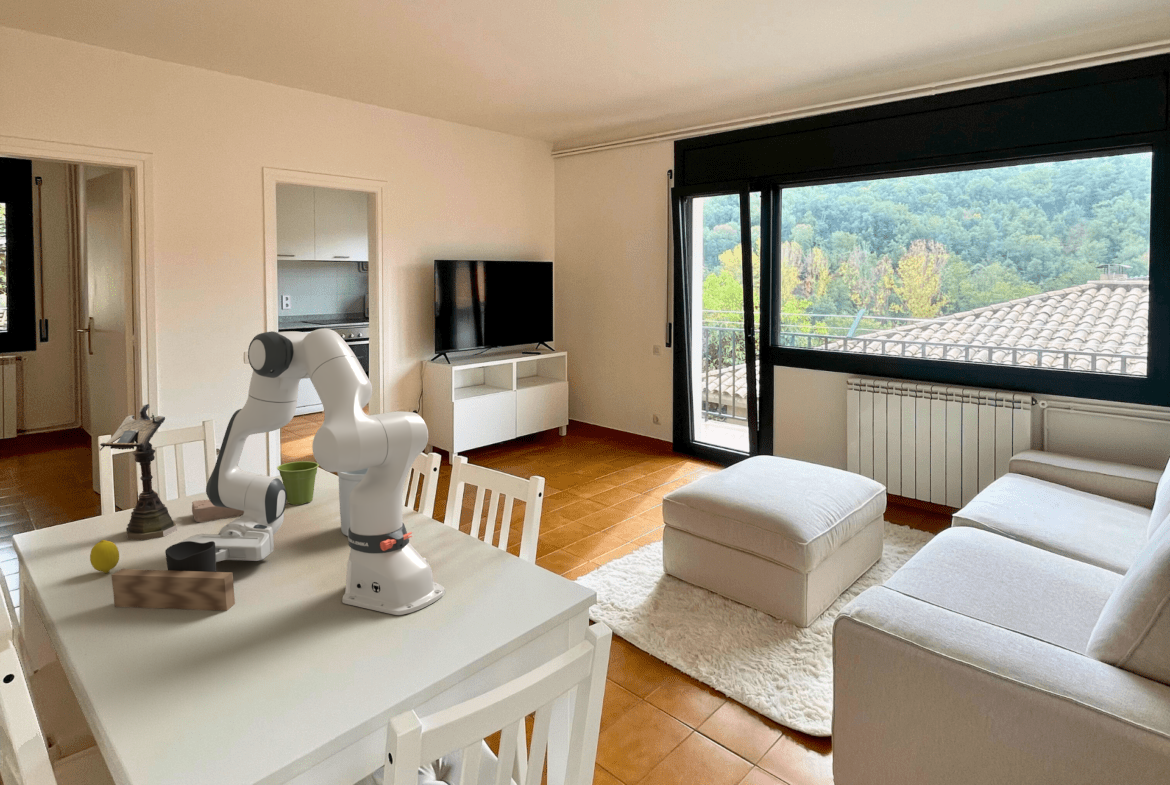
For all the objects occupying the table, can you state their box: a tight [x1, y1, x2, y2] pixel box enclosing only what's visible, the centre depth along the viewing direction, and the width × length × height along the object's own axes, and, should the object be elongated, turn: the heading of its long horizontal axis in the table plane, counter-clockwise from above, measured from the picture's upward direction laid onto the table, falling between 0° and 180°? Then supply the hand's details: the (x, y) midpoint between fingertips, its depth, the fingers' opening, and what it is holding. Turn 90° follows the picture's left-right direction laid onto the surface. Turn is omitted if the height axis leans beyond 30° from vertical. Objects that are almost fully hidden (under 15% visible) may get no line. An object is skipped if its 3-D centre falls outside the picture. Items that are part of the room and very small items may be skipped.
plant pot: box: [276, 460, 320, 506], centre depth 212 cm, size 12×12×11 cm
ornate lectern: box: [99, 403, 178, 541], centre depth 181 cm, size 17×13×35 cm
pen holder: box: [164, 541, 217, 572], centre depth 151 cm, size 9×9×10 cm
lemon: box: [89, 539, 120, 574], centre depth 160 cm, size 6×6×8 cm
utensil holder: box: [336, 468, 368, 537], centre depth 189 cm, size 15×15×18 cm
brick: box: [191, 499, 244, 523], centre depth 201 cm, size 16×8×5 cm, turn 125°
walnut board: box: [111, 568, 236, 611], centre depth 145 cm, size 24×3×7 cm, turn 87°
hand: (205, 561), depth 156 cm, fingers closed, pressing on pen holder
